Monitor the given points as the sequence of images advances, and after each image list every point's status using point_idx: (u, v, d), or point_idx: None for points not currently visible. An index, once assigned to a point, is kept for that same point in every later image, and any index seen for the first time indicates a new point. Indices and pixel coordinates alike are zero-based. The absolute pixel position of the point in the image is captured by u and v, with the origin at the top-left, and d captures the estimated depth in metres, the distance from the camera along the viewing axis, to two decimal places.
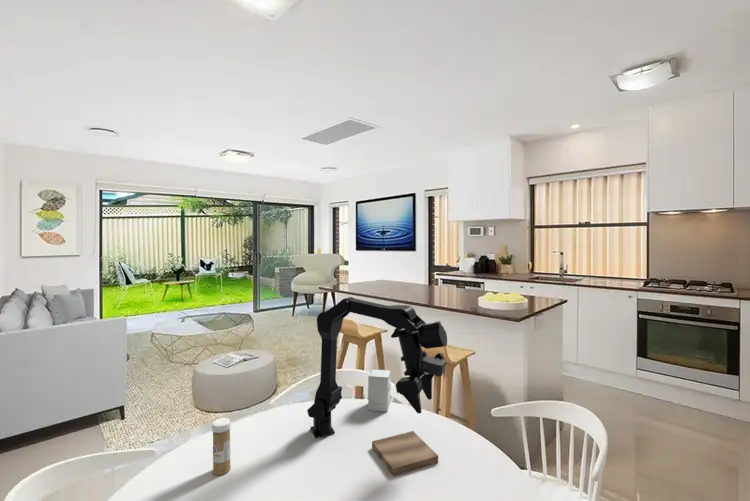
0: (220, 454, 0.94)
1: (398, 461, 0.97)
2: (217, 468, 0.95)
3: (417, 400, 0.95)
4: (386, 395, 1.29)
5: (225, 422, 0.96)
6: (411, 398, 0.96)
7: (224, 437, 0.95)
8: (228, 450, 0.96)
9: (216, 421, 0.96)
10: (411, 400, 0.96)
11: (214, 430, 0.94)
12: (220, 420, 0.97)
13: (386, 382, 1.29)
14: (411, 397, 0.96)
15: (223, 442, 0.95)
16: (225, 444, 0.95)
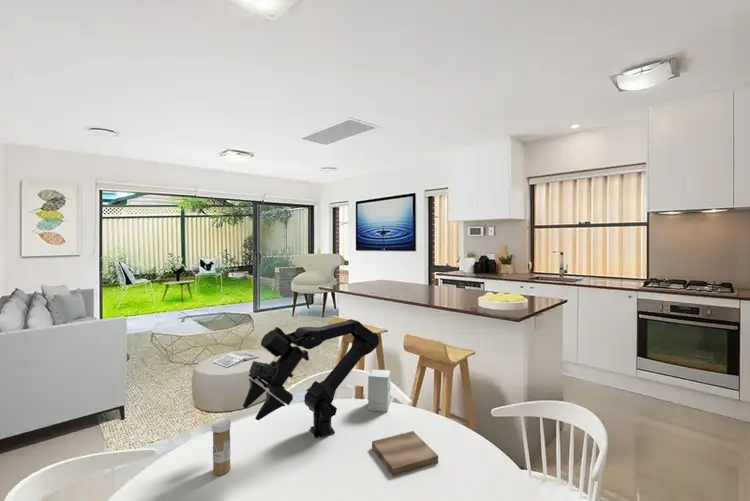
0: (220, 454, 0.94)
1: (398, 461, 0.97)
2: (217, 468, 0.95)
3: None
4: (386, 395, 1.29)
5: (225, 422, 0.96)
6: None
7: (224, 437, 0.95)
8: (228, 450, 0.96)
9: (216, 421, 0.96)
10: None
11: (214, 430, 0.94)
12: (220, 420, 0.97)
13: (386, 382, 1.29)
14: None
15: (223, 442, 0.95)
16: (225, 444, 0.95)
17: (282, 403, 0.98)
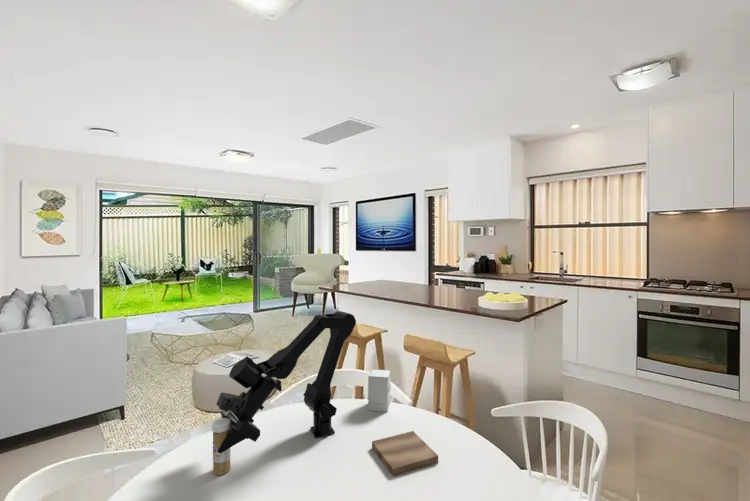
0: (219, 454, 0.94)
1: (398, 461, 0.97)
2: (217, 468, 0.95)
3: None
4: (386, 395, 1.29)
5: (225, 422, 0.96)
6: None
7: (224, 437, 0.95)
8: (228, 450, 0.96)
9: (216, 421, 0.96)
10: None
11: (214, 430, 0.94)
12: (220, 420, 0.97)
13: (386, 382, 1.29)
14: None
15: None
16: None
17: (245, 436, 0.95)
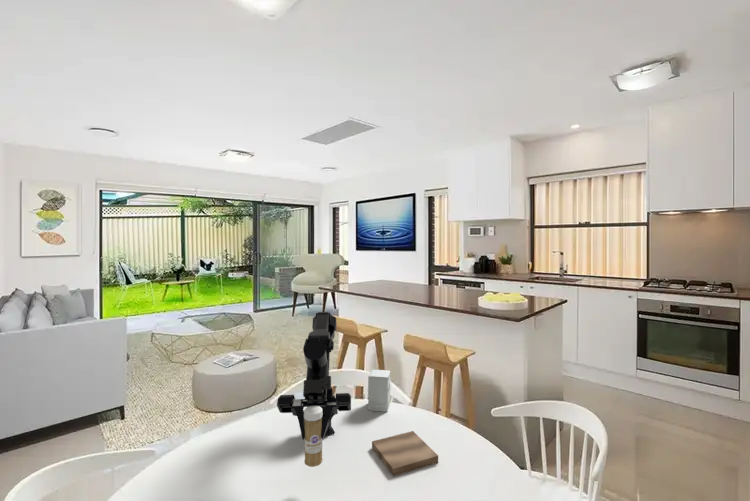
0: (321, 441, 0.89)
1: (398, 461, 0.97)
2: (319, 458, 0.88)
3: None
4: (386, 395, 1.29)
5: (317, 407, 0.90)
6: None
7: (321, 422, 0.90)
8: None
9: (308, 411, 0.88)
10: None
11: (316, 418, 0.87)
12: (310, 409, 0.89)
13: (386, 382, 1.29)
14: None
15: (321, 427, 0.89)
16: None
17: (337, 411, 0.94)
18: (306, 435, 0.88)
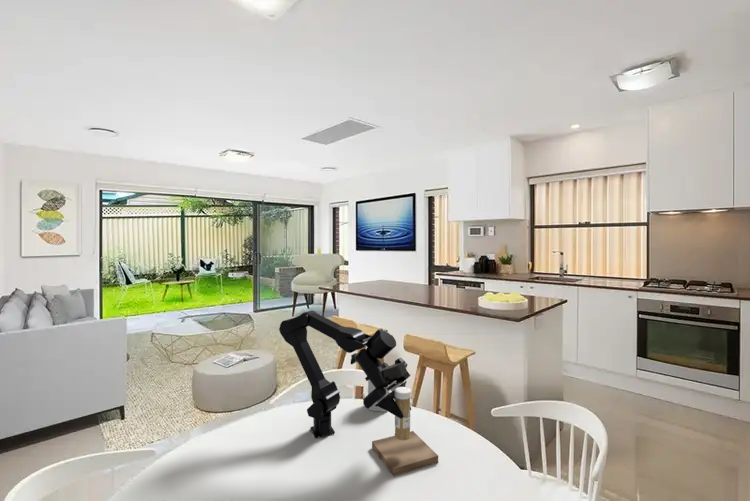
0: None
1: (398, 461, 0.97)
2: None
3: (393, 405, 0.98)
4: None
5: (401, 387, 1.02)
6: (388, 406, 0.99)
7: None
8: None
9: (404, 391, 0.99)
10: (389, 408, 0.99)
11: (410, 394, 1.00)
12: (401, 390, 1.00)
13: None
14: (388, 405, 0.99)
15: None
16: None
17: None
18: (404, 413, 0.99)
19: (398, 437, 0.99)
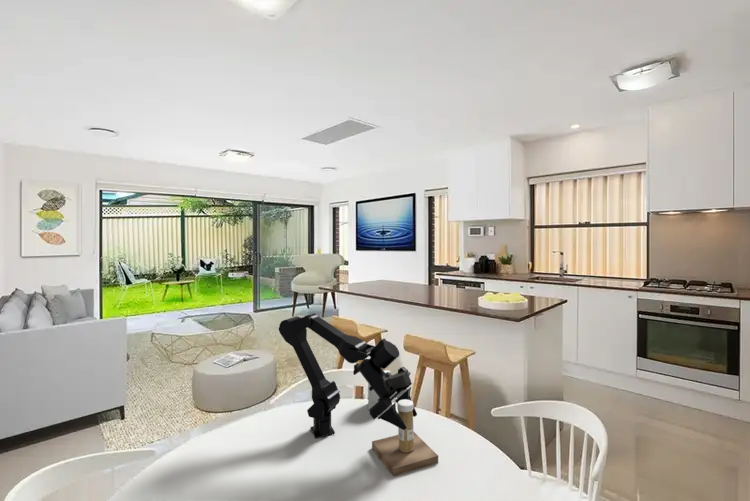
0: None
1: (398, 461, 0.97)
2: None
3: (396, 417, 0.98)
4: None
5: (404, 400, 1.04)
6: (391, 418, 0.99)
7: None
8: None
9: (407, 404, 1.01)
10: (392, 420, 0.99)
11: None
12: (404, 403, 1.02)
13: None
14: (390, 417, 0.99)
15: None
16: None
17: None
18: (408, 425, 1.01)
19: (403, 449, 1.01)
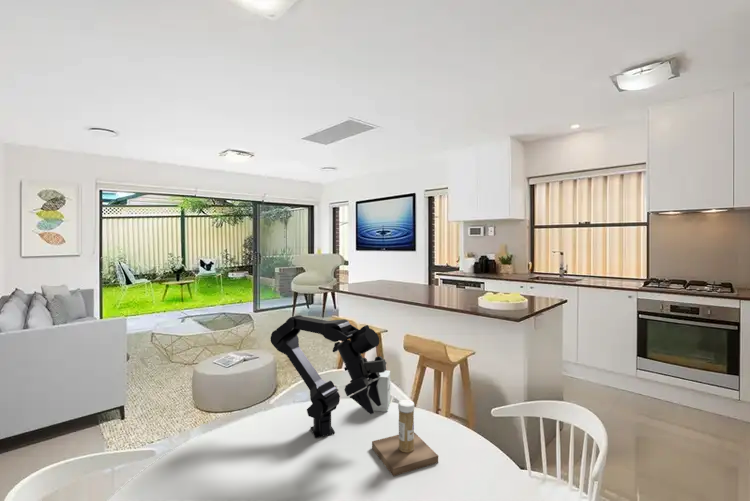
0: None
1: (398, 461, 0.97)
2: None
3: (367, 399, 1.00)
4: (386, 395, 1.29)
5: (405, 400, 1.04)
6: (361, 400, 1.00)
7: None
8: None
9: (408, 404, 1.01)
10: (362, 402, 1.00)
11: None
12: (405, 403, 1.02)
13: (386, 382, 1.29)
14: (361, 399, 1.00)
15: None
16: None
17: None
18: (409, 426, 1.01)
19: (403, 450, 1.01)
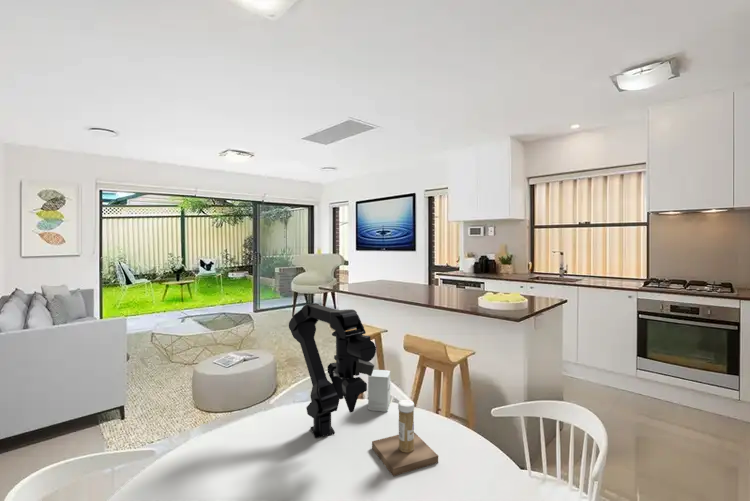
0: None
1: (398, 461, 0.97)
2: None
3: (355, 399, 1.01)
4: (386, 395, 1.29)
5: (405, 400, 1.04)
6: (350, 398, 1.01)
7: None
8: None
9: (408, 404, 1.01)
10: (350, 400, 1.00)
11: None
12: (405, 403, 1.02)
13: (386, 382, 1.29)
14: (350, 397, 1.01)
15: None
16: None
17: None
18: (409, 426, 1.01)
19: (403, 450, 1.01)
